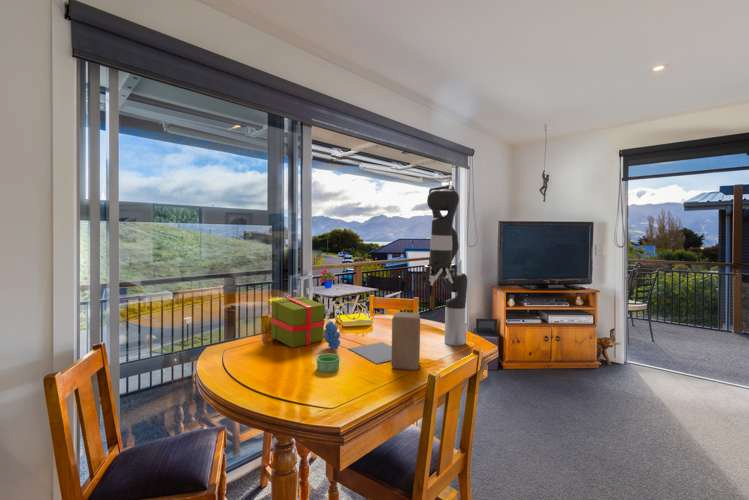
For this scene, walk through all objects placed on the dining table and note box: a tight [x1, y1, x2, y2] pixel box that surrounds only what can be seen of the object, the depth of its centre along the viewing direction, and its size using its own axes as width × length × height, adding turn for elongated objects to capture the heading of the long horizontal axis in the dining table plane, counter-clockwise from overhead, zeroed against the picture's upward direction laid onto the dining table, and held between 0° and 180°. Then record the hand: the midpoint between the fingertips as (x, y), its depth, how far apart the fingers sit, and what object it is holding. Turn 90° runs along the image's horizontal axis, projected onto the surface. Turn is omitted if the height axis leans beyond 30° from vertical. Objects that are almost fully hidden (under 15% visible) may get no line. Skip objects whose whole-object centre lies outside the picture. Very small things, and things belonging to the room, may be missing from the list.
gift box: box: [270, 296, 326, 349], centre depth 176 cm, size 21×21×25 cm
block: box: [390, 311, 421, 371], centre depth 143 cm, size 10×10×20 cm
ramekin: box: [315, 353, 341, 373], centre depth 139 cm, size 9×9×4 cm
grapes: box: [323, 321, 341, 351], centre depth 162 cm, size 12×7×12 cm, turn 36°
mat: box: [348, 341, 392, 365], centre depth 159 cm, size 18×22×1 cm
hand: (439, 294), depth 129 cm, fingers open, 8 cm apart
